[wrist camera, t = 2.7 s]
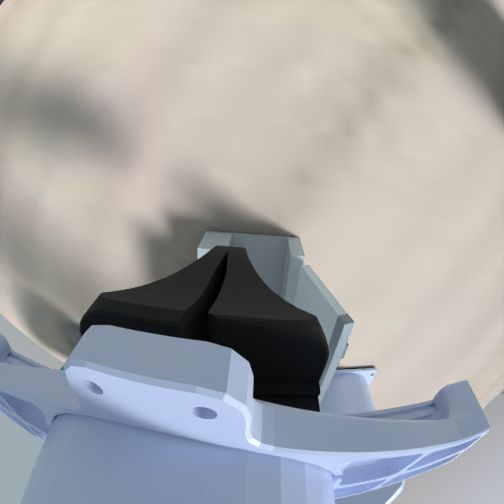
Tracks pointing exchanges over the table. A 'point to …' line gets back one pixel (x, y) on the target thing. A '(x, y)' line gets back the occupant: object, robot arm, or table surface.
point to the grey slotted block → (264, 257)
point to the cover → (324, 320)
